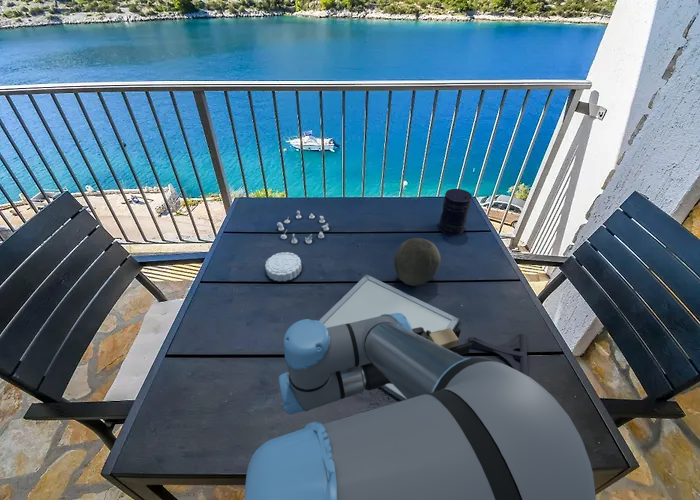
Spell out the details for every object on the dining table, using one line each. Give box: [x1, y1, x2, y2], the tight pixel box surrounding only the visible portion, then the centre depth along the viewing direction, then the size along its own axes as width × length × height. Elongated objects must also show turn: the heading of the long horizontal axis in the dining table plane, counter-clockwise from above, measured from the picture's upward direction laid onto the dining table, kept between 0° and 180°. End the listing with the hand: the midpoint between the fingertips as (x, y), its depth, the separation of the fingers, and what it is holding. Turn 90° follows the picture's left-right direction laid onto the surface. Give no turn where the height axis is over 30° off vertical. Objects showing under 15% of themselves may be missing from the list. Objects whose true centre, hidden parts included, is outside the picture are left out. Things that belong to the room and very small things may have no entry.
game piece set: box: [276, 210, 330, 245], centre depth 136 cm, size 19×20×4 cm
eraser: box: [428, 328, 460, 349], centre depth 74 cm, size 10×5×10 cm, turn 109°
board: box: [318, 274, 460, 401], centre depth 98 cm, size 30×32×2 cm
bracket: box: [467, 333, 529, 377], centre depth 92 cm, size 14×15×3 cm
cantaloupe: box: [393, 237, 442, 287], centre depth 110 cm, size 14×14×15 cm
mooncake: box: [264, 251, 302, 282], centre depth 118 cm, size 12×12×4 cm
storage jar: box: [438, 188, 473, 236], centre depth 133 cm, size 10×10×15 cm
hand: (463, 340), depth 74 cm, fingers closed on eraser, 3 cm apart
